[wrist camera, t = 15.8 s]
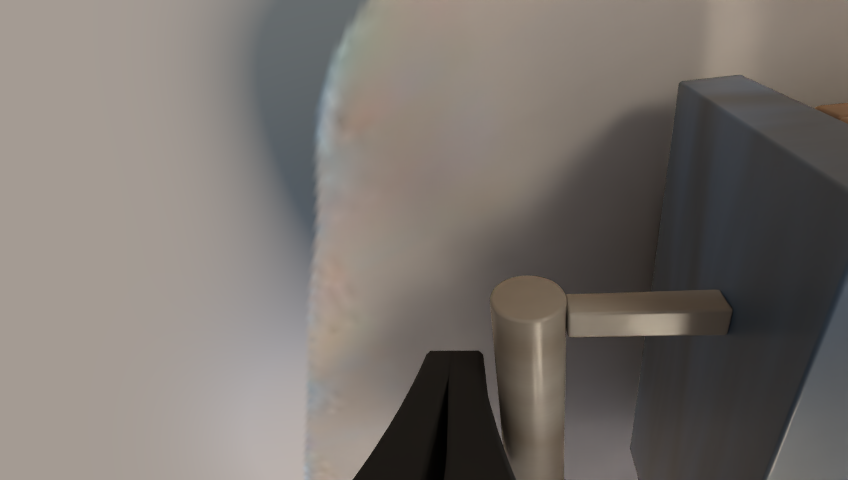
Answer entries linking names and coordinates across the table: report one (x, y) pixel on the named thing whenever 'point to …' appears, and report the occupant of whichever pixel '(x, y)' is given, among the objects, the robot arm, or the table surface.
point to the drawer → (711, 305)
